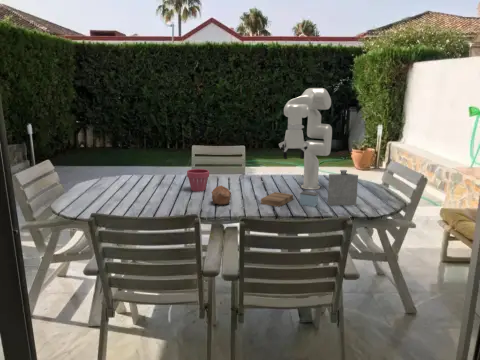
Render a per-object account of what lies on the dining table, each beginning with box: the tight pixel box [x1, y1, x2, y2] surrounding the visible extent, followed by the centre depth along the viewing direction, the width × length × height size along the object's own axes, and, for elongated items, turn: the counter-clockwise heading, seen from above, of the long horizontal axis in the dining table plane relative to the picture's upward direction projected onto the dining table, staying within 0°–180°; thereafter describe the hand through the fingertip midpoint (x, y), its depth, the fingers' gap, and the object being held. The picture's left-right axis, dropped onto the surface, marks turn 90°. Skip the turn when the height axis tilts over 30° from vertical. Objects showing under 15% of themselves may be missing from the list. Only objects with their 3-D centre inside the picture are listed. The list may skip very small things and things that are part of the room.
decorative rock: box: [211, 185, 232, 206], centre depth 232 cm, size 13×11×10 cm
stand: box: [260, 191, 294, 208], centre depth 237 cm, size 18×12×3 cm, turn 149°
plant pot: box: [186, 168, 210, 192], centre depth 262 cm, size 14×14×13 cm
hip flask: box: [327, 169, 359, 206], centre depth 229 cm, size 16×4×20 cm, turn 83°
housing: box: [299, 190, 319, 208], centre depth 230 cm, size 5×9×7 cm, turn 59°
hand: (293, 158), depth 226 cm, fingers open, 9 cm apart
